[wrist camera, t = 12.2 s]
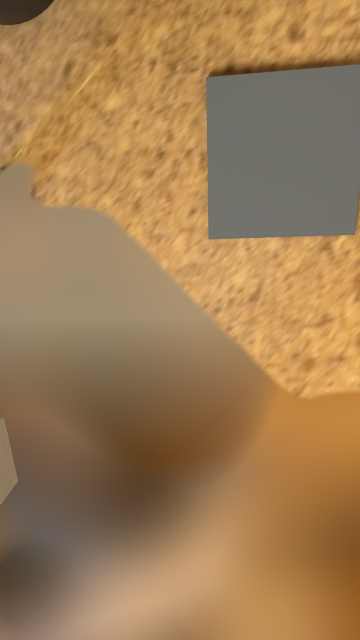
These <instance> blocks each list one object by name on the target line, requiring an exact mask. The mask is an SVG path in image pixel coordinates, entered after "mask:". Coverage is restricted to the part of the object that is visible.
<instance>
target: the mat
mask: <svg viewBox="0 0 360 640" xmlns="http://www.w3.org/2000/svg"><path fill="white" fill-rule="evenodd" d="M206 83H207V153H208V224H209V239H233V238H264V237H295V236H326V235H355V230H356V221H357V212H358V202H359V193H360V64H355V65H343V66H331V67H320V68H308V69H297V70H285V71H273V72H262V73H250V74H238V75H227V76H215V77H206Z"/></svg>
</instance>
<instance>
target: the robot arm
mask: <svg viewBox="0 0 360 640" xmlns="http://www.w3.org/2000/svg"><path fill="white" fill-rule="evenodd" d="M53 1H54V0H0V24H1V25H14V24H20V23H23V22H26V21H29V20H31V19H33V18H35V17H36V16H38V15H39V14H41V13H42V12H43V11H44V10H46V9H47V8H48V7H49V6H50V4H51V3H52V2H53ZM17 481H18V480H17V476H16V471H15V466H14V462H13V457H12V453H11V449H10V444H9V440H8V435H7V431H6V426H5V422H4V419H0V504H1V503H2V502H3V500H4V499H5V498H6V496H7V495H8V494H9V492H10V491H11V489H12V488H13V487H14V485H15V484H16V483H17Z"/></svg>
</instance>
